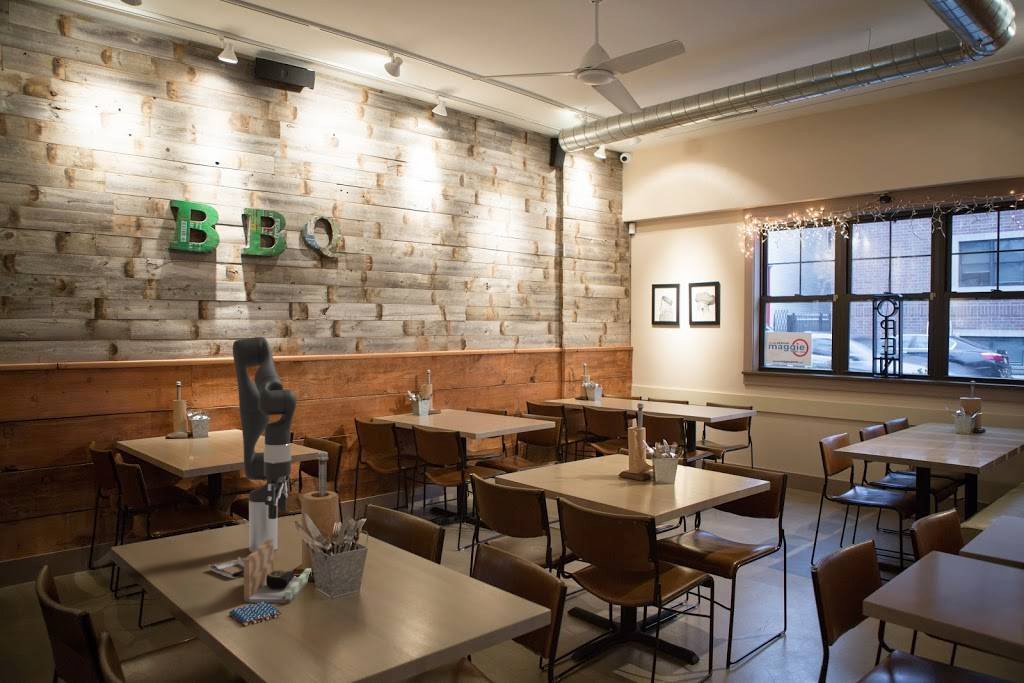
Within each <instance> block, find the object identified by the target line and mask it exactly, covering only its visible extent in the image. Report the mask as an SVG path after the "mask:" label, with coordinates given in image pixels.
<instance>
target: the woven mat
mask: <svg viewBox="0 0 1024 683" xmlns="http://www.w3.org/2000/svg"><path fill="white" fill-rule="evenodd" d="M229 615H230V617H231V618H234V620H236V621H237V622H238V623H240V624H241V625H242V626H243V627H247V626H251V625H252V624H257V623H258V624H259V623H261V622H263V623H264V622H266V621H269V620H273V619H277V618H279V617H282V616H281V615H282V612H281V611H280V610H279V609H278V608H276V607H274V605H273V606H272V604H271V603H266V601H265V602H260V603H253V604H249V605H248V606H247V605H246V606H245V605H244V606H242V607H238V608H233V609H232V610H230V611H229Z"/></svg>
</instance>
